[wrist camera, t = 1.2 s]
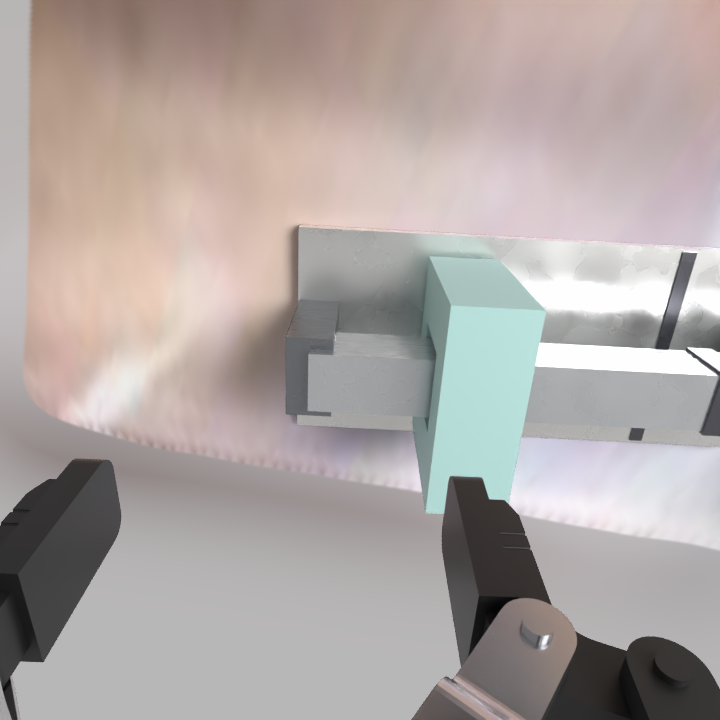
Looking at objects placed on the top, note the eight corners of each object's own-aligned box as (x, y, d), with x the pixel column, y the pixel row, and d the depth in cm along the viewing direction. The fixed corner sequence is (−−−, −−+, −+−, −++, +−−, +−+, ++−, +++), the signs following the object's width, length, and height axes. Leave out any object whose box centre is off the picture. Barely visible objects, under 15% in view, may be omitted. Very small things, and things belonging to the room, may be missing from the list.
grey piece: (299, 224, 32) (281, 254, 25) (793, 251, 33) (911, 289, 26) (298, 418, 38) (282, 489, 30) (723, 440, 38) (805, 515, 31)
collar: (429, 256, 31) (451, 305, 23) (499, 260, 32) (546, 310, 23) (412, 421, 36) (425, 512, 28) (473, 425, 36) (505, 516, 28)
